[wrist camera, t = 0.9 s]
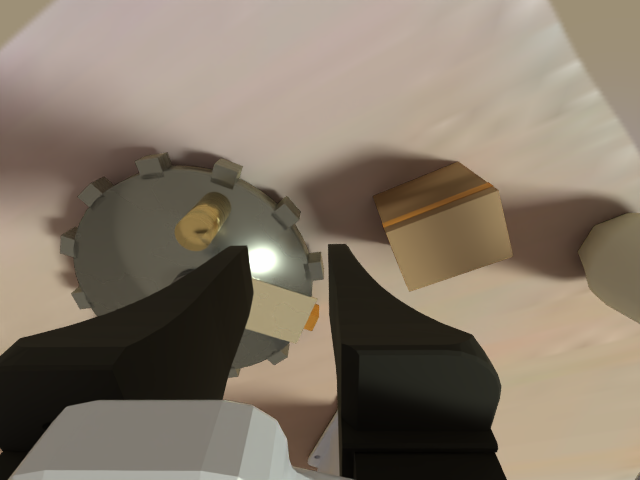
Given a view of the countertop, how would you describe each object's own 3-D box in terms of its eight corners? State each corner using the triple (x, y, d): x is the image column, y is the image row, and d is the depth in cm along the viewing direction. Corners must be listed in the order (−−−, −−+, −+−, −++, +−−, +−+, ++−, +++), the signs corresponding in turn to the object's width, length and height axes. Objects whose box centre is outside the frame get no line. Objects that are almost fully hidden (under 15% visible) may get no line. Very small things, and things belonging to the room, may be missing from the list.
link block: (391, 245, 21) (409, 292, 17) (372, 195, 20) (385, 232, 15) (472, 215, 20) (513, 256, 16) (458, 160, 19) (498, 189, 14)
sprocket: (68, 328, 24) (12, 384, 20) (82, 106, 17) (3, 119, 13) (279, 387, 26) (270, 449, 22) (364, 211, 19) (374, 251, 15)
